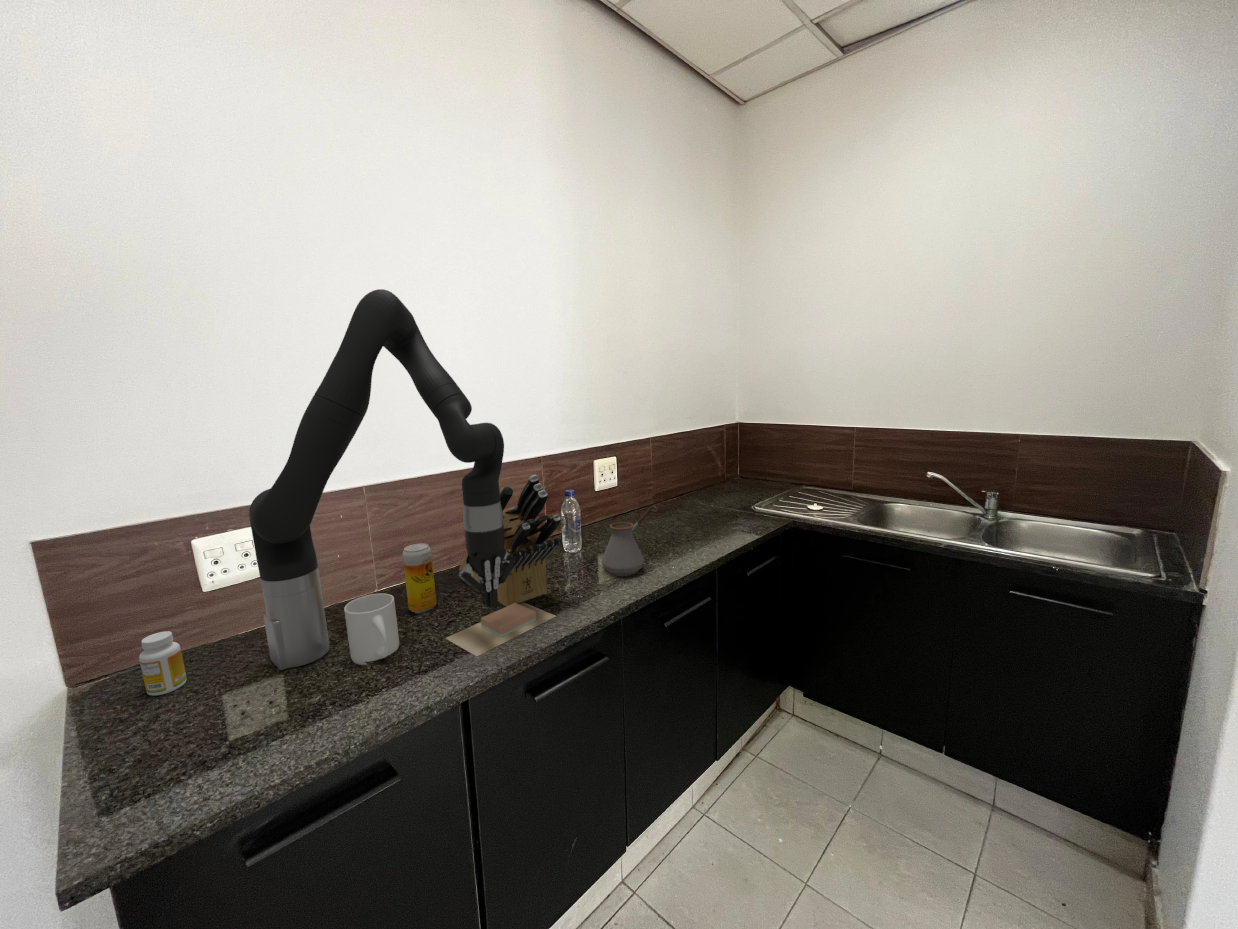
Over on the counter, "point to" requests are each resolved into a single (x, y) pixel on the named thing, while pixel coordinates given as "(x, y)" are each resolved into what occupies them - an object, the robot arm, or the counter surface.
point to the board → (492, 634)
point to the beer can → (419, 577)
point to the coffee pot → (623, 549)
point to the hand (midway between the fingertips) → (490, 606)
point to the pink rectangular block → (508, 619)
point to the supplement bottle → (161, 664)
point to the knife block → (525, 543)
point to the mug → (371, 627)
